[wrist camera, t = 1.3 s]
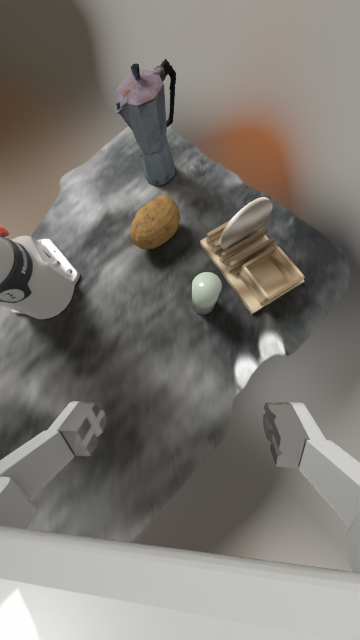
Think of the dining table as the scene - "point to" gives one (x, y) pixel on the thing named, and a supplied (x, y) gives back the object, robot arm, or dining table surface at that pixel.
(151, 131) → the moka pot
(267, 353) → the dining table surface
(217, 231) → the rack
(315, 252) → the dining table surface
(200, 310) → the pale green glossy part
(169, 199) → the potato
